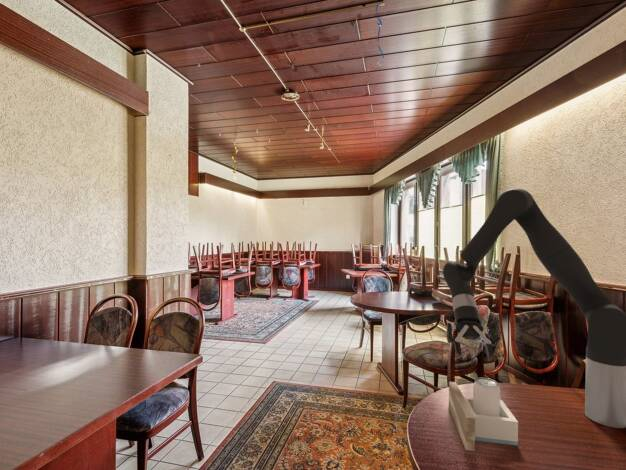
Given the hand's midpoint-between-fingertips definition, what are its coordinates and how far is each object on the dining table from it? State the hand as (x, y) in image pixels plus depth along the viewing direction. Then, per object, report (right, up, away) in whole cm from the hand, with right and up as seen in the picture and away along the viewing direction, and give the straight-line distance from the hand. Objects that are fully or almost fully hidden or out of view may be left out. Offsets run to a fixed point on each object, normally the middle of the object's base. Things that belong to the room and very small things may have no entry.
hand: (474, 356), depth 101 cm
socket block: (-2, -16, -12) cm, 20 cm away
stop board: (-9, -16, -10) cm, 21 cm away
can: (-3, -15, -11) cm, 19 cm away
